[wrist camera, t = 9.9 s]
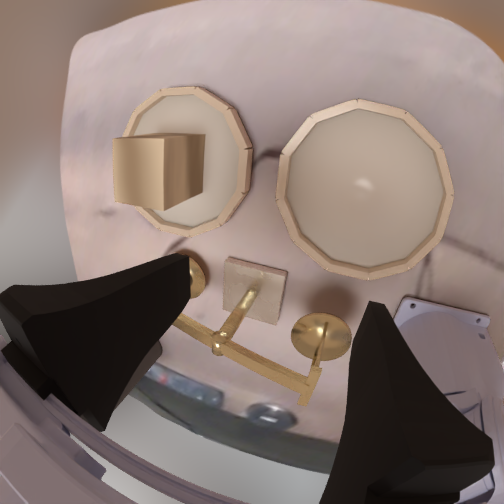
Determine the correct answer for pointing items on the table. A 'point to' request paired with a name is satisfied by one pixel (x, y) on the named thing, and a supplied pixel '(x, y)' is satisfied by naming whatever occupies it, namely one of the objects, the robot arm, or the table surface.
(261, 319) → the balance scale
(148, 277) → the robot arm
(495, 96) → the table surface
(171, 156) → the maple block
